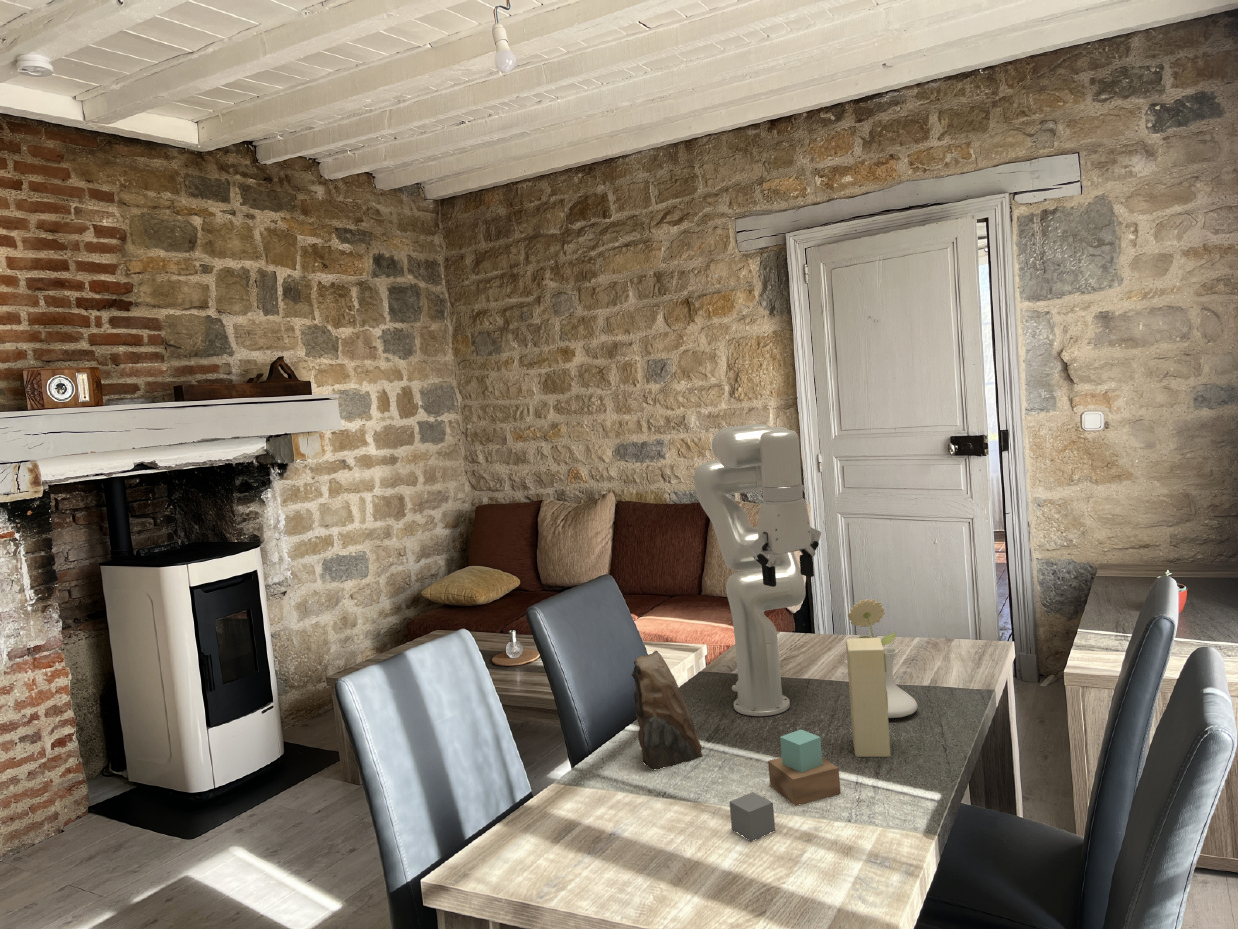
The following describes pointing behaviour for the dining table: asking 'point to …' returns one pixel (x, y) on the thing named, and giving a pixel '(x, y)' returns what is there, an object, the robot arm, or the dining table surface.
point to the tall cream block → (868, 697)
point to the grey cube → (752, 816)
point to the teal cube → (801, 750)
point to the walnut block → (804, 781)
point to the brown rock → (662, 715)
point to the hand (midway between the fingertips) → (788, 580)
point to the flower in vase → (897, 698)
